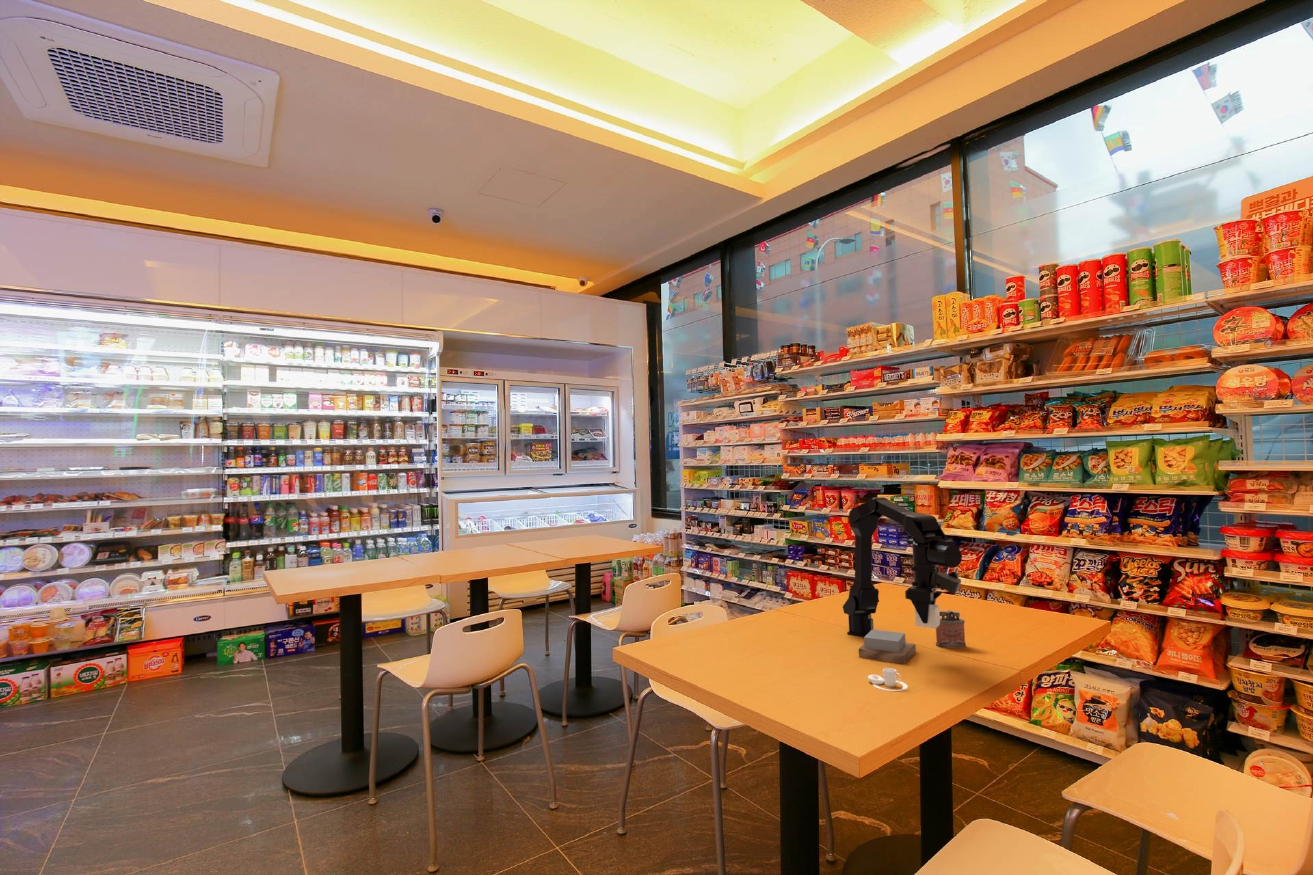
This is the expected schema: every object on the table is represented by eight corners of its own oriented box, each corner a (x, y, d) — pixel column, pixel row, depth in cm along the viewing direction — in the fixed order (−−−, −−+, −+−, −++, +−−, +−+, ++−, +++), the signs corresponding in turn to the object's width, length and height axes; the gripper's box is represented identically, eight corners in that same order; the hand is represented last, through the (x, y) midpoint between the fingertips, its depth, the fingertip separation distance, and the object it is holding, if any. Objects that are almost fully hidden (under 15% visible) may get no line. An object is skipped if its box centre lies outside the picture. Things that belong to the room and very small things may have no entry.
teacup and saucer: (863, 683, 150) (862, 666, 151) (888, 678, 154) (887, 661, 154) (889, 695, 142) (888, 677, 143) (915, 689, 145) (914, 672, 146)
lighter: (963, 644, 178) (961, 609, 179) (967, 647, 175) (965, 612, 175) (934, 644, 179) (932, 609, 179) (938, 647, 176) (936, 612, 176)
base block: (859, 659, 170) (858, 648, 170) (872, 648, 179) (872, 637, 179) (904, 666, 162) (903, 655, 163) (915, 654, 172) (915, 643, 172)
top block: (864, 648, 170) (864, 637, 170) (872, 639, 177) (872, 629, 177) (898, 652, 165) (898, 641, 165) (905, 643, 172) (905, 633, 173)
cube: (915, 625, 164) (914, 607, 164) (920, 621, 168) (919, 603, 168) (935, 628, 161) (934, 609, 161) (940, 624, 165) (938, 605, 165)
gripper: (949, 570, 153) (953, 633, 152) (964, 559, 168) (967, 617, 167) (903, 566, 160) (906, 627, 159) (921, 556, 175) (923, 612, 174)
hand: (927, 620), depth 165 cm, fingers closed on cube, 5 cm apart
